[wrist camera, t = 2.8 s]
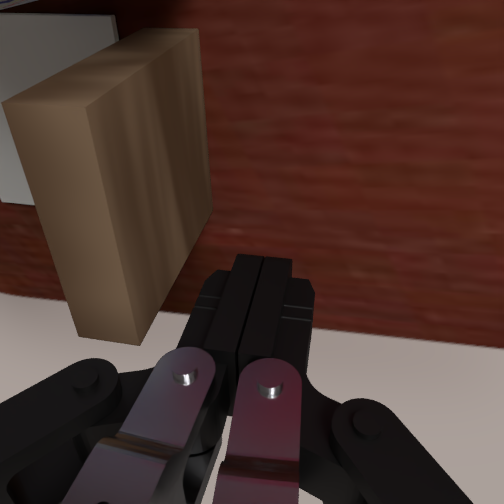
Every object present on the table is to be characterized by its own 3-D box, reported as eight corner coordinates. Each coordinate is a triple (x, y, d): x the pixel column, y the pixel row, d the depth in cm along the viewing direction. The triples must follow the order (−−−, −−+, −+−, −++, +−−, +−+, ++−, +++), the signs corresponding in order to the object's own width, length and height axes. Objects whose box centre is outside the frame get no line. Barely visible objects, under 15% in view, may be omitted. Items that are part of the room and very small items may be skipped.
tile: (198, 28, 20) (85, 107, 12) (213, 209, 26) (139, 346, 18) (140, 27, 21) (-4, 102, 13) (166, 205, 26) (75, 336, 18)
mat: (114, 14, 21) (110, 16, 20) (148, 212, 27) (145, 215, 26) (-64, 11, 22) (-70, 13, 22) (6, 198, 28) (1, 201, 28)
